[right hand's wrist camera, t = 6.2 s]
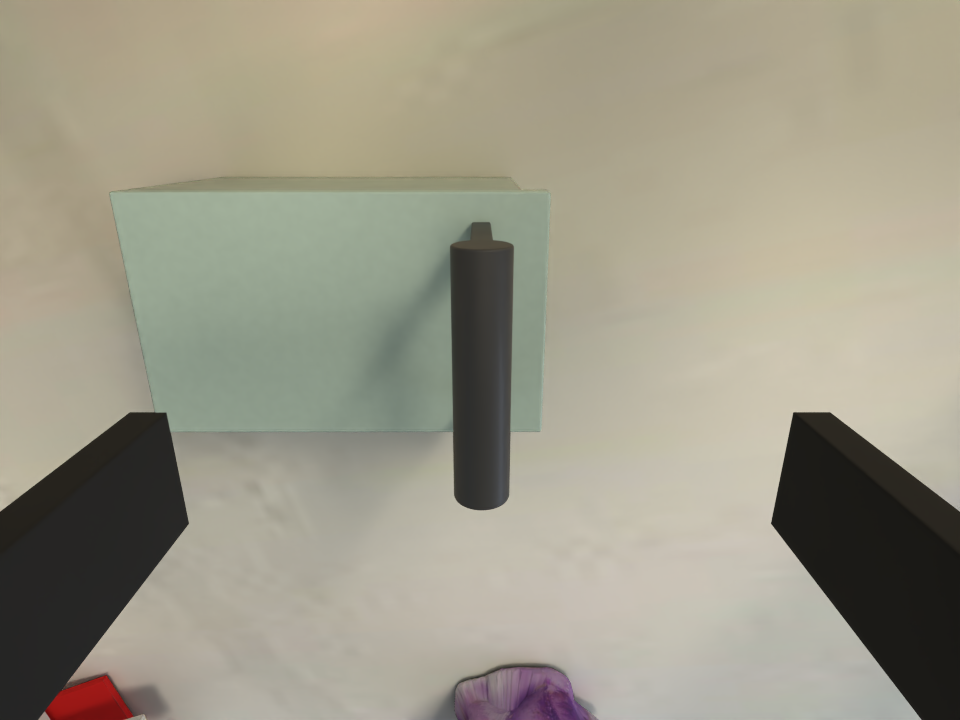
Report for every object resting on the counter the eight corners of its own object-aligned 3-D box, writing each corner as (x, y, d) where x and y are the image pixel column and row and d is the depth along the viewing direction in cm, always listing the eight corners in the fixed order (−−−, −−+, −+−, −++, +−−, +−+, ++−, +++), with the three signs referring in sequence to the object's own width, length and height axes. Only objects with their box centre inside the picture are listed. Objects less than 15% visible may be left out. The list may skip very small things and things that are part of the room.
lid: (548, 189, 22) (583, 212, 15) (539, 421, 26) (564, 536, 18) (124, 189, 22) (-58, 212, 15) (170, 421, 26) (41, 537, 18)
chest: (511, 177, 31) (523, 189, 22) (508, 353, 34) (517, 421, 26) (220, 177, 31) (124, 189, 22) (246, 353, 34) (171, 421, 26)
